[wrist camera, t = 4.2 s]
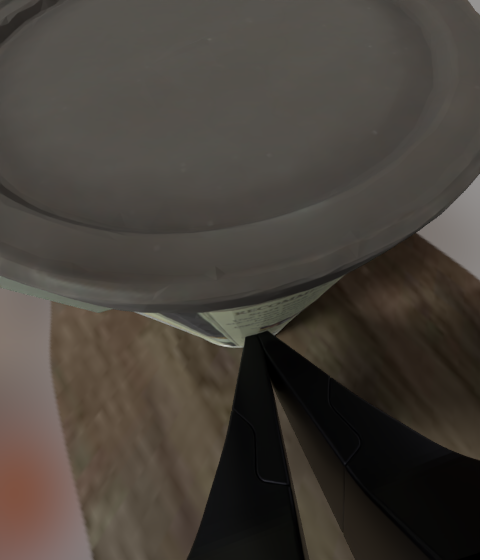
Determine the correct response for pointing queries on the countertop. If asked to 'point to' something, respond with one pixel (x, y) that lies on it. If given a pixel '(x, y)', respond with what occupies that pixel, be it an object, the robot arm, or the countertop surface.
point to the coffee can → (227, 148)
